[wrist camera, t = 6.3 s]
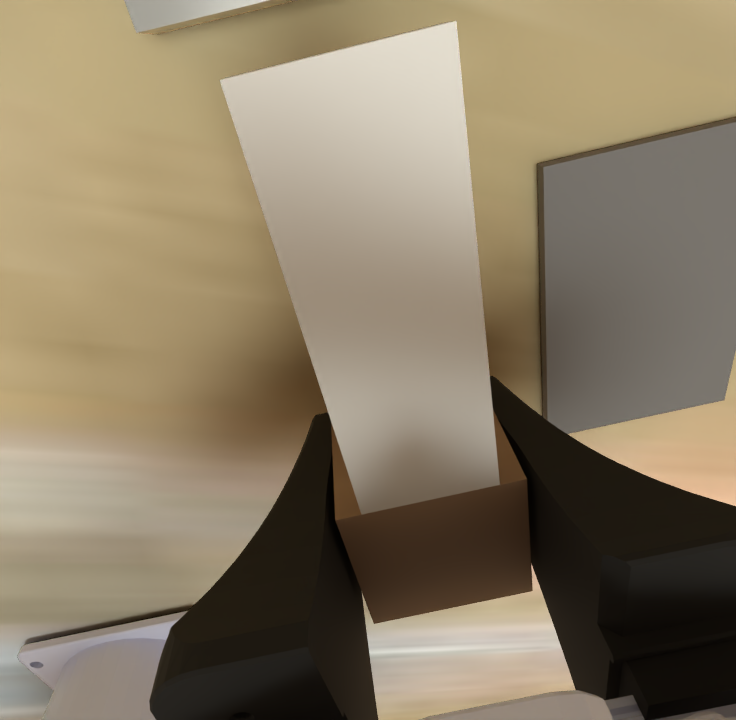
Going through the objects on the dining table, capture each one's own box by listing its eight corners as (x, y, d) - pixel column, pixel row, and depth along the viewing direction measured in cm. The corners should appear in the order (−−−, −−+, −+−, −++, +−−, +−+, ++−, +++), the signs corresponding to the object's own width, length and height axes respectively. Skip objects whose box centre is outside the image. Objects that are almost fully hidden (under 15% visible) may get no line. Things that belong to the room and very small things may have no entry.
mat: (716, 393, 17) (724, 400, 17) (543, 430, 17) (547, 438, 17) (777, 107, 12) (789, 109, 12) (537, 163, 13) (543, 166, 12)
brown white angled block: (464, 419, 16) (532, 590, 11) (355, 443, 16) (373, 623, 11) (411, 24, 10) (502, 9, 5) (241, 66, 10) (175, 91, 5)
